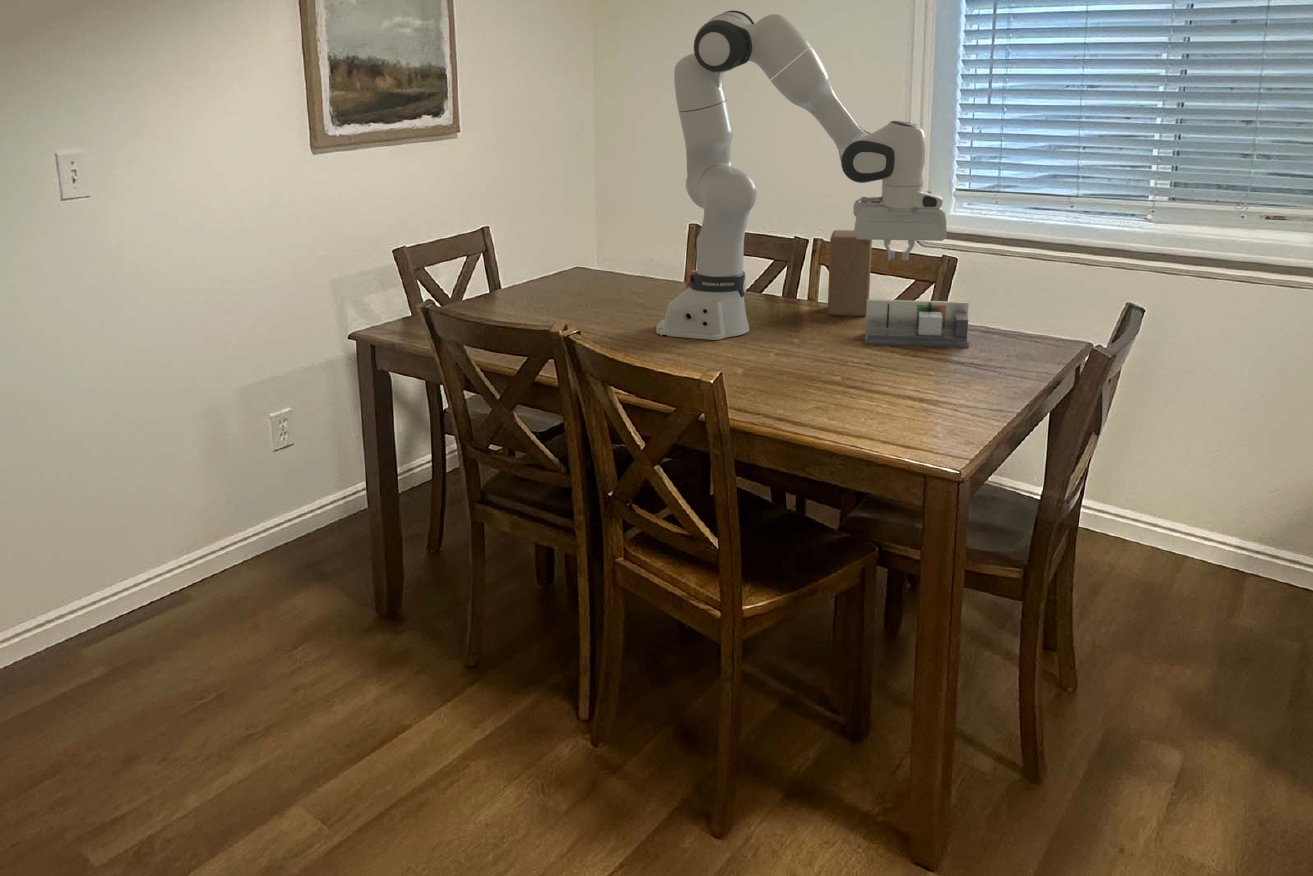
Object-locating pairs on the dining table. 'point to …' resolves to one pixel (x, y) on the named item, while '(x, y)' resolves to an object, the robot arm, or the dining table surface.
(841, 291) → the wooden block
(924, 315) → the gauge carriage
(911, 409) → the dining table surface
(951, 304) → the bench
